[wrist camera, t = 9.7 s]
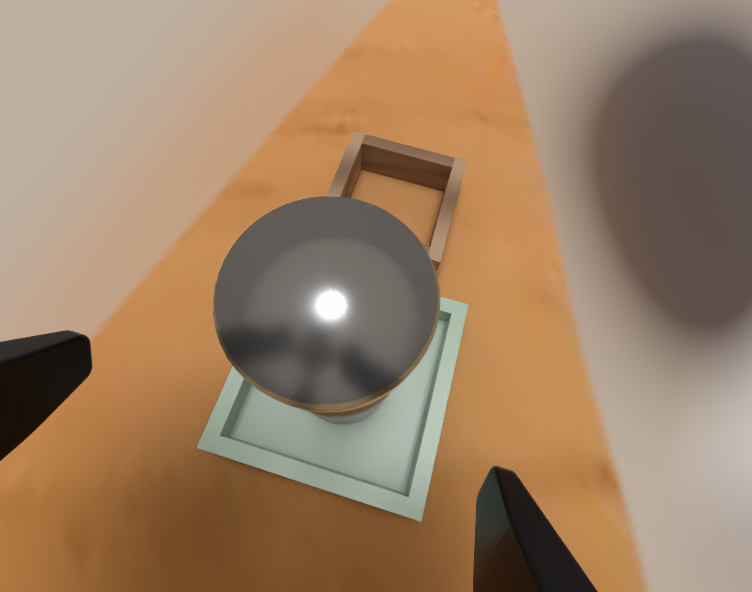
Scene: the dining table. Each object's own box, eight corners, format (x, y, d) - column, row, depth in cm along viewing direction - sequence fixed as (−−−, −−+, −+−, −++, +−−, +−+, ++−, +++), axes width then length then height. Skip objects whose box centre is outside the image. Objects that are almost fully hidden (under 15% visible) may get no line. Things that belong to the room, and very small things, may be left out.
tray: (413, 512, 19) (421, 522, 17) (215, 447, 20) (196, 447, 18) (457, 318, 23) (468, 304, 21) (290, 269, 24) (283, 251, 22)
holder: (432, 279, 24) (440, 262, 22) (318, 246, 25) (313, 226, 22) (457, 185, 27) (466, 161, 25) (354, 157, 27) (353, 131, 25)
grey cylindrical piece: (376, 439, 20) (409, 442, 7) (282, 408, 20) (166, 365, 8) (402, 346, 21) (463, 225, 9) (316, 319, 22) (265, 170, 9)
